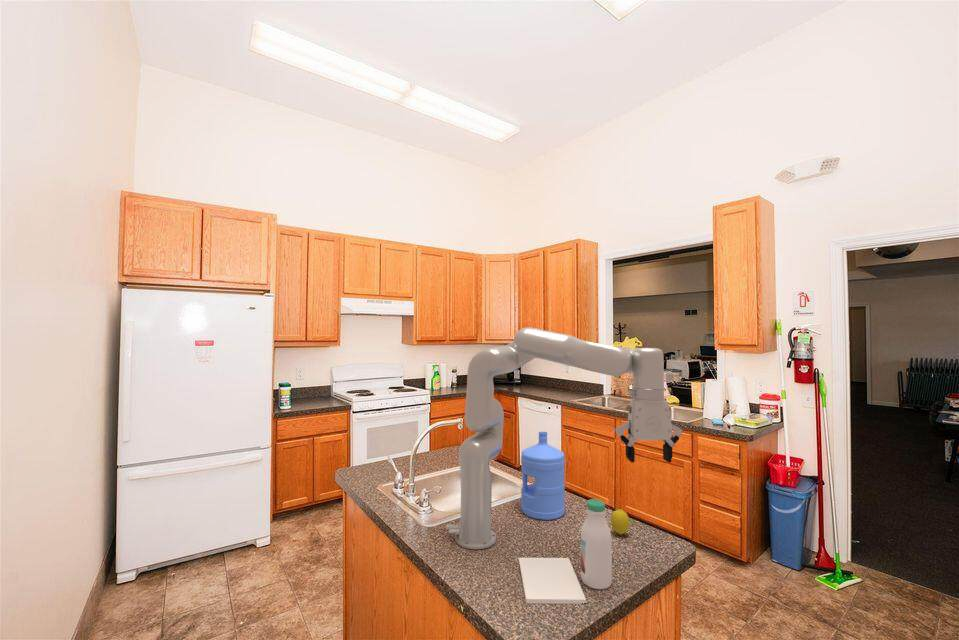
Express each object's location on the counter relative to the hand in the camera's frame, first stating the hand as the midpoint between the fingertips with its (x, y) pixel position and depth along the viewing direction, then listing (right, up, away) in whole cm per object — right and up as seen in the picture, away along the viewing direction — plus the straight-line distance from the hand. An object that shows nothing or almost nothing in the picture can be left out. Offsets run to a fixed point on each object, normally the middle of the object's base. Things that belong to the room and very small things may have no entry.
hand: (649, 460), depth 106 cm
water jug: (-22, -32, +40) cm, 56 cm away
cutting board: (-26, -30, -2) cm, 40 cm away
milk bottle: (-14, -30, -2) cm, 34 cm away
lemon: (+1, -32, +23) cm, 39 cm away
